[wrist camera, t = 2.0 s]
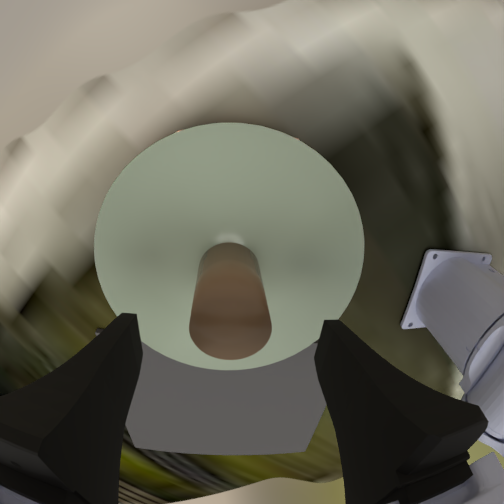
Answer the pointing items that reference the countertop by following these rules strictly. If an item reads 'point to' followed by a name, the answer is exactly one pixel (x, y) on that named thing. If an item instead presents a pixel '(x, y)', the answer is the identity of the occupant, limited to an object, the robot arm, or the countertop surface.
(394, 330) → the countertop surface
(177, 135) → the lid
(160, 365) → the rubber mat
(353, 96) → the countertop surface
